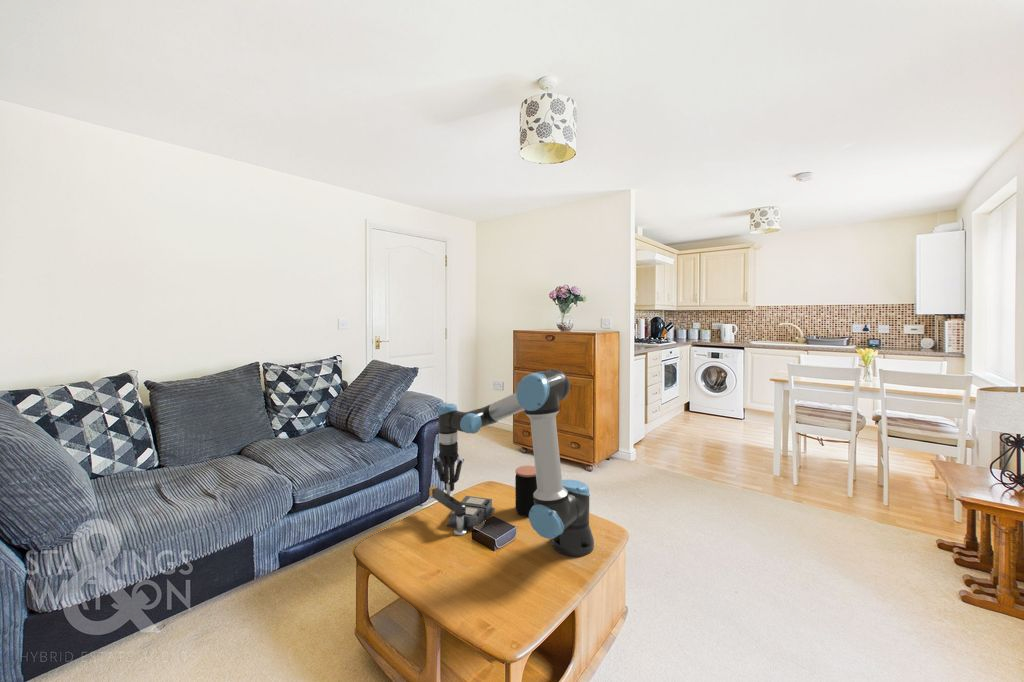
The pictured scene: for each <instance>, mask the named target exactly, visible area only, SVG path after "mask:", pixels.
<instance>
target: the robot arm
mask: <svg viewBox="0 0 1024 682" xmlns="http://www.w3.org/2000/svg"><path fill="white" fill-rule="evenodd" d="M570 390H571V382H570V379H569V377H568V376H567V374H565V372H563V371H561V370H558V369H548V370H543V371H538V372H533V373H529V374H527V375H525V376H523V377H522V378H521V379H520V381H519V382H518V383H517V386H516V391H515V393H512V394H510V395H508V396H506V397H503V398H501V399H499V400H497V401H494V402H493V403H490V404H488V405H485V406H484V407H480V408H476V409H473V410H469V411H459V410H458V406H457V404H455V403H442V404H440V405H439V406H438V413H437V418H438V442H439V443H438V449H439V450H438V451H439V453H438V455H437V456H435V457H434V458H433V461H434V463H435V466H436V470H437V474H438V477H439V478H438V479H439V481H440V482H443V483H444V490H445V492H446V493H447V494H448V495H450V496H451V497H453V498H454V496H453V494H454V493H453V491H454V490H455V484H456V483H457V482H458V481H460V480H459V479H460V475H461V470H462V465H463V463H464V462H465V459H464V458H461V457H460V455H459V453H458V452H459V451H458V450H459V445H458V444H459V443H458V432H463V433H465V434H477V433H478V432H479V431H480V430H481V429H482V428H483V427H486V426H490V425H493V424H496V423H498V422H499V421H501V420H503V419H506V418H508V417H511V416H514V415H517V414H518V413H521V412H523V411H524V415H525V416H527V418H529V422H530V430H531V439H532V449H533V451H532V452H533V459H534V466H535V471H536V481H537V490H536V491H535V492H534V494H533V496H534V506H532V508H531V510H530V511H529V517H528V520H529V524H530V526H531V528H532V529H533V530H534V531H535V532H536V534H537V535H539V536H540V537H542V538H544V539H548V540H549V539H550V540H551V542H552V543H551V545H552V547H553V549H555V551H557V552H558V553H560V554H562V555H566V556H569V557H581V556H587V555H588V554H590V553H592V552H593V550H594V548H595V538H594V535H593V532H592V530H591V526H590V488H589V485H588V484H586V483H585V482H583V481H580V480H577V479H563V478H562V476H563V475H562V467H561V457H560V447H559V438H558V429H557V426H558V425H557V421H556V420H557V417H556V416H557V415H558V414H559V412H560V402H561V401H563V400H564V399H566V398H567V396H568V395H569V394H570ZM456 463H457V465H456ZM455 465H456V466H455Z"/></svg>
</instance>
